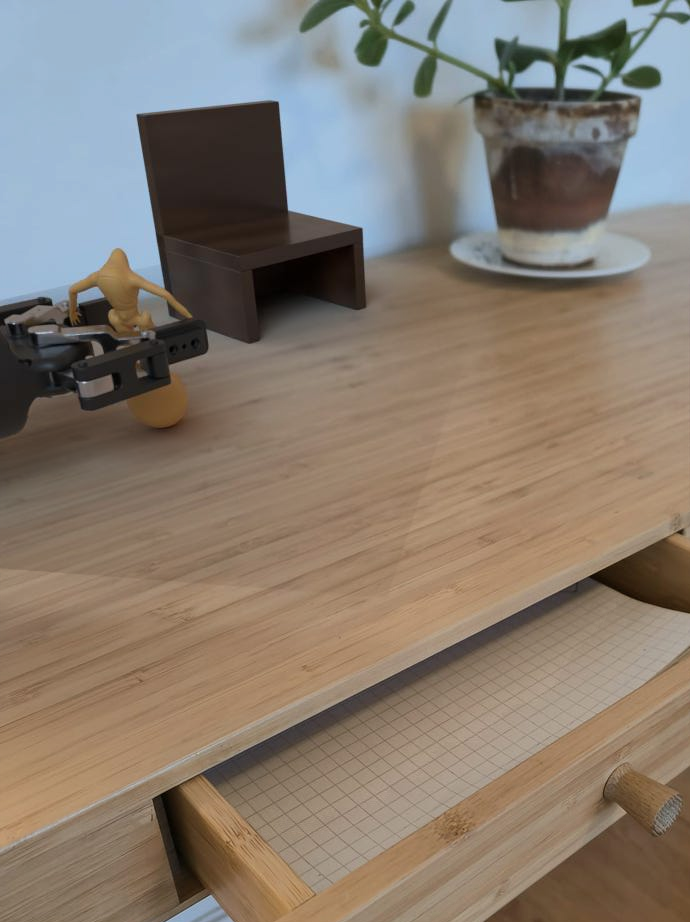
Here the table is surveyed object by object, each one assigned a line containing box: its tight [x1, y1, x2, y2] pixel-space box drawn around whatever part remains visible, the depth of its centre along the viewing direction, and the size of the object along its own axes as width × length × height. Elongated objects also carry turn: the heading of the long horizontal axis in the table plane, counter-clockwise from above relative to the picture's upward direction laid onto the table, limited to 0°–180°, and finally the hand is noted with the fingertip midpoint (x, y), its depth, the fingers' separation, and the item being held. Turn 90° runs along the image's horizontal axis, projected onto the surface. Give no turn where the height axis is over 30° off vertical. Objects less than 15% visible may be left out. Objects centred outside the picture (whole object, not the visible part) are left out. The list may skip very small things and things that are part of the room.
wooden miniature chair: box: [135, 99, 367, 344], centre depth 83 cm, size 11×14×16 cm
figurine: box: [67, 247, 192, 429], centre depth 62 cm, size 8×6×12 cm
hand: (167, 321), depth 62 cm, fingers closed on figurine, 7 cm apart
